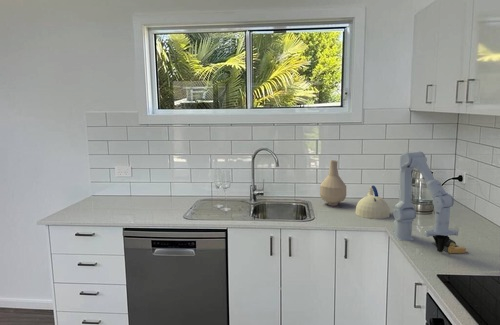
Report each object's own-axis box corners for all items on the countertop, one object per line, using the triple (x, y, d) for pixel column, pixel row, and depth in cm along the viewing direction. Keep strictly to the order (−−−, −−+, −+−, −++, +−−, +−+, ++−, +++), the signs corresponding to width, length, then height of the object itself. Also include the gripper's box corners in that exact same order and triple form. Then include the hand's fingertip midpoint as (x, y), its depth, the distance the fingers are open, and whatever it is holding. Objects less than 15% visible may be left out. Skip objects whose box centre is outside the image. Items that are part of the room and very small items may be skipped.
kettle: (384, 210, 243) (386, 182, 240) (393, 219, 222) (395, 189, 220) (352, 209, 245) (353, 182, 242) (358, 218, 224) (359, 188, 222)
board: (430, 243, 182) (430, 240, 182) (449, 242, 183) (449, 239, 183) (461, 262, 159) (461, 259, 159) (482, 261, 160) (483, 258, 160)
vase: (336, 209, 245) (337, 163, 241) (314, 204, 258) (315, 160, 254) (351, 204, 257) (352, 160, 253) (329, 200, 270) (330, 158, 266)
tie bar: (447, 251, 170) (448, 246, 170) (462, 250, 171) (463, 245, 171) (450, 253, 168) (451, 247, 168) (465, 252, 169) (466, 247, 169)
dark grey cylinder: (439, 244, 180) (439, 236, 179) (447, 244, 180) (447, 235, 179) (448, 250, 172) (449, 241, 172) (457, 249, 173) (457, 241, 172)
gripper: (431, 225, 162) (429, 255, 164) (463, 223, 163) (461, 253, 165) (422, 220, 169) (420, 249, 171) (453, 219, 170) (451, 248, 172)
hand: (439, 251), depth 169 cm, fingers closed
